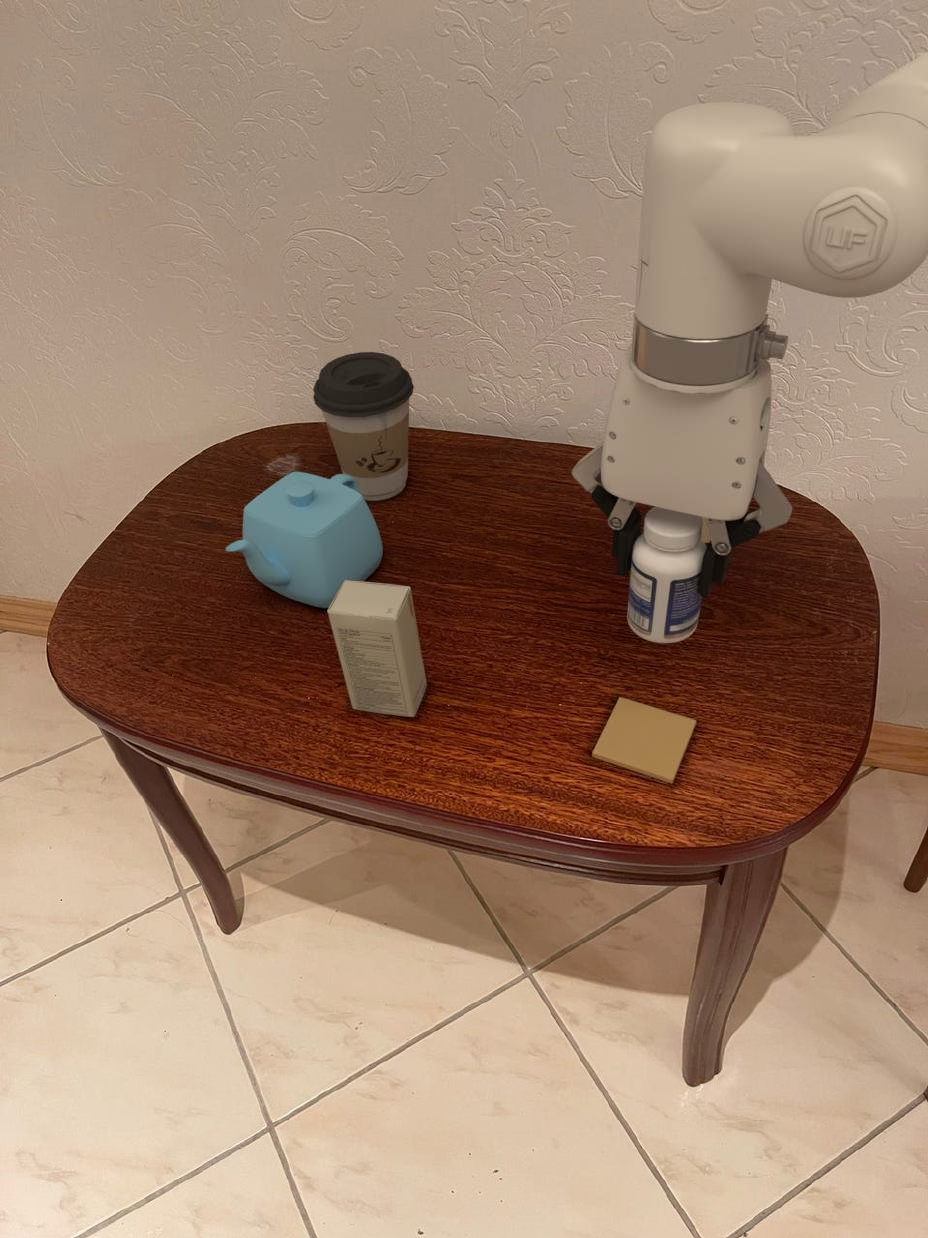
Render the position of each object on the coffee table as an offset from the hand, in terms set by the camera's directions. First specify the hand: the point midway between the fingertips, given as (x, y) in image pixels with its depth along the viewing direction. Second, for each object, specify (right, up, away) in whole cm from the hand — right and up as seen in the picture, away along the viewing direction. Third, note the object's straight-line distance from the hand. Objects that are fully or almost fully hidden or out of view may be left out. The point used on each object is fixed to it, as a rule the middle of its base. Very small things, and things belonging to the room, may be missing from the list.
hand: (667, 572), depth 65 cm
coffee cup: (-26, +13, +43) cm, 52 cm away
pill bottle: (0, -4, +3) cm, 5 cm away
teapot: (-31, 0, +30) cm, 43 cm away
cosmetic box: (-22, -11, +17) cm, 30 cm away
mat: (+1, -14, +11) cm, 18 cm away
